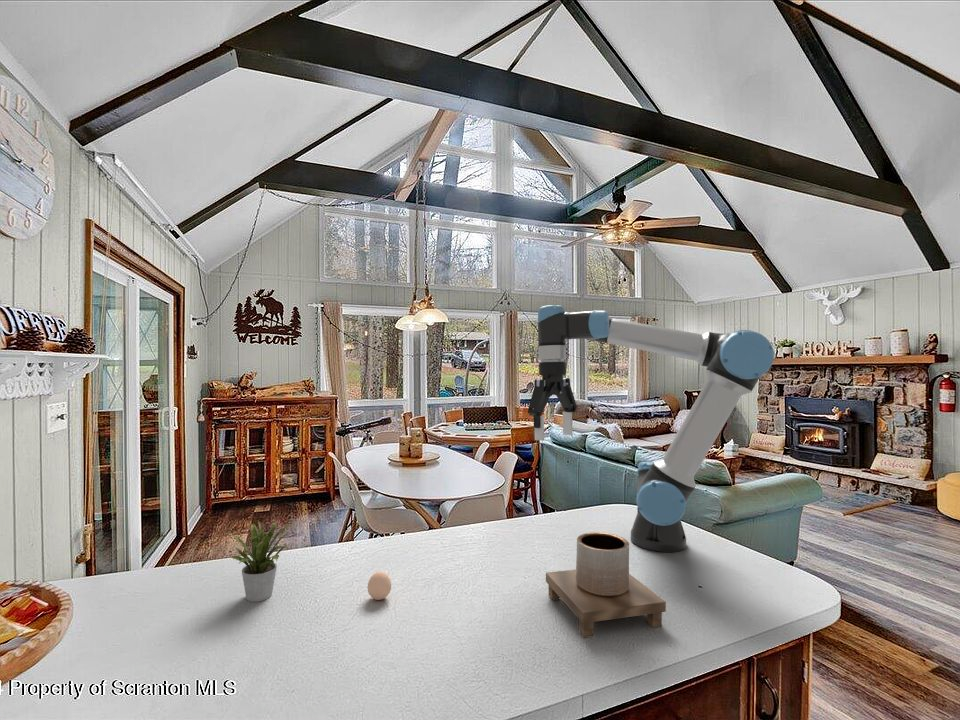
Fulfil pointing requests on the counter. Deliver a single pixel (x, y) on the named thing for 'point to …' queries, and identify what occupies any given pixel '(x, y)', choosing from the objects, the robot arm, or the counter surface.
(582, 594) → the plant stand
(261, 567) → the house plant
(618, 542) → the planter
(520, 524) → the counter surface
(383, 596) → the egg
